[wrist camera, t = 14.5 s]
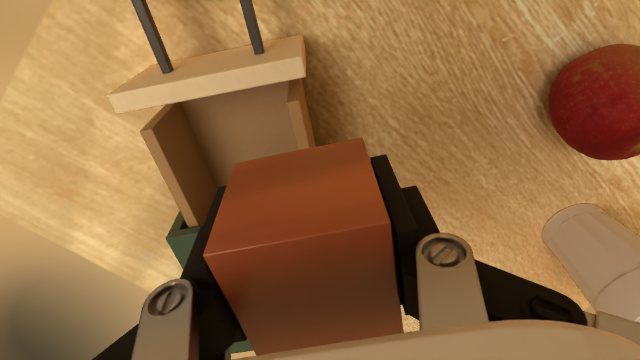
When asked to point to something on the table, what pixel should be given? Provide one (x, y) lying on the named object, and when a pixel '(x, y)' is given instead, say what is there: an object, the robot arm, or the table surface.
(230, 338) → the robot arm
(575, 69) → the apple
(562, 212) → the cup
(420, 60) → the table surface
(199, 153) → the drawer
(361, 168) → the block
